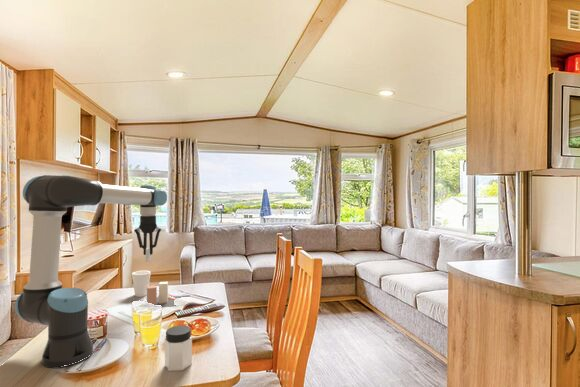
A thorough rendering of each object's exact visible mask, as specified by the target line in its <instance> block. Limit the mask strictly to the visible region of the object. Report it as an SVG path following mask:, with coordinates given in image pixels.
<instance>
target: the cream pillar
mask: <svg viewBox="0 0 580 387" xmlns="http://www.w3.org/2000/svg"><path fill="white" fill-rule="evenodd" d="M158 297H159V303H167V302H168V297H169V281H160V282H159V283H158Z"/></svg>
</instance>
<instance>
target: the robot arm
mask: <svg viewBox="0 0 580 387" xmlns="http://www.w3.org/2000/svg"><path fill="white" fill-rule="evenodd" d="M167 194H168V193H167V192H166V191H165V190H163V189H158V188H157V187H156V186H155V185H154V184H153V185H152V184H151V185H150V184H149V185H148V184H147V185H146V184H143V185H140V186H139V187H134V186H123V185H116V184H106V183H101V182H100V181H98V180H93V179H87V178H82V177H77V176H73V175H51V174H50V175H48V174H44V175H39V176H35V177H32V178H30V179H29V180H28V181H27V182H26V183H25V185H24V187H23V189H22V197H23V199H24V201H26V203H27V204H28V212H29V213H30V214H31V215H32V217H33V218H32V231H31V248H30V262H29V275H28V276H29V277H28V278H29V279H28V282H27V283H26V284H25V285H23V289H22V290H23V291H22V292H21V293H20V294H19V296H17V297H16V299H15V302H14V311H15V313H16V315H17V316H18V318H20V320H21V319H22V320H24V321H26V322H29V323H34V324H39V325H44V326H47V327H48V328H47V330H48V331H47V332H48V334H47V335H48V337H47V338H48V340H47V342H46V345H45V348H44V350H43V353H42V356H41V364H42V366H43V367H46V368H49V369H50V368H51V369H54V368H53V367H60V368H62V367H61V366H64V365H69V364H72V363H75V362H78V361H80V360H82V359H84V358H86V357H88V356H89V355H91V354H92V355H93V353H92V352H94V345H93V342H92V339H91V336H90V334H89V332H88V323H89V322H88V319H89V318H88V310H89V309H88V308H89V306H88V305H89V300H88V293H87V292H86V291H85V289H83V288H82V289H81V288H78V287H63V282H61V280H59V267H60V266H59V264H60V250H61V249H60V248H61V233H62V232H61V231H62V219H63V218H62V217H63V215H65V214H66V213H67V211H68V208H72V207H83V206H97V205H99V204H114V205H124V206H135V205H136V206H137V205H139V207H140V208H139V215H140V216H139V219H140V220H139V226H138V227H137V228H135V229H134V233H135V234H136V239H137V242H138V246H139V248H141V249H143V256H145V262H151V256H152V255H153V252H154V248H156V247H157V245H158V240H159V236H160V232H161V231H162V228H161V227H158V225H157V207H158V206H164V205H165V204H166V202H167V201H168V195H167ZM154 231H156V234H155V237H154V238H155V239H154V238H153V236H154V234H153V233H154ZM140 232H142V233H143V239H142V236H141V233H140ZM148 234H149V235H148ZM148 238H149V247H148V246H147V245H148V244H147V243H148V240H147V239H148ZM142 240H143V241H142ZM153 240H154V242H153ZM92 355H91V356H92ZM88 358H89V357H88Z"/></svg>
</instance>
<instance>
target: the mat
mask: <svg viewBox="0 0 580 387" xmlns="http://www.w3.org/2000/svg"><path fill="white" fill-rule="evenodd" d="M173 297H175V298H181V297H190V298H191V295H189V294H188V295H186V294H185V295H173ZM157 305H161V306H162V307H161V308H169V307H170V308H171V307H173V308H174V307H177V306H176V305H174V300H169V299H168V302H167V303H159V296H157Z"/></svg>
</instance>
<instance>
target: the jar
mask: <svg viewBox="0 0 580 387" xmlns="http://www.w3.org/2000/svg"><path fill="white" fill-rule="evenodd" d="M192 361H193V337H192V328H191V327H190V326H189V325H184V324H183V325H179V324H178V325H175V326H174V325H173V326H170V327H169V328H167V329H166V331H165V338H164V365H165V368H166V369H167V370H168V372H173V371H174V372H175V371H176V372H177V371H179V372H180V371H184V370H185V369H187V368H188V367H189V366H191V365H192V364H193V362H192Z"/></svg>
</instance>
